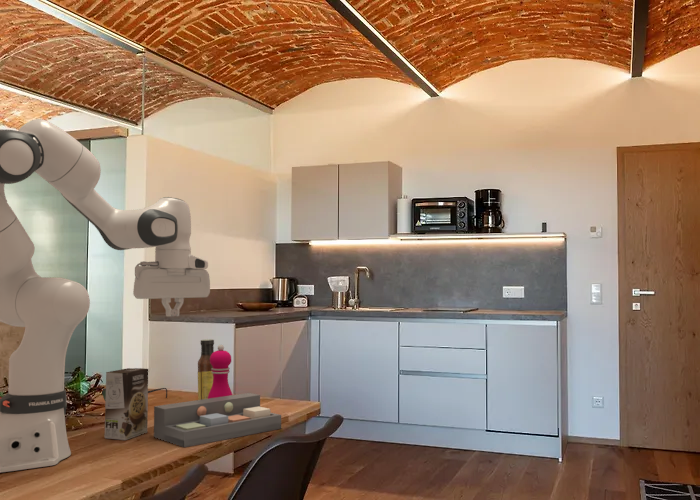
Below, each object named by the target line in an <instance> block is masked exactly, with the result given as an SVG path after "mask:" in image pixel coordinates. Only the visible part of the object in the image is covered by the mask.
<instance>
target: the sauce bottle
mask: <svg viewBox="0 0 700 500" xmlns="http://www.w3.org/2000/svg"><path fill="white" fill-rule="evenodd" d="M214 344H215V339H212V338H209V339H208V338H207V339H201V340H200V346H201V347H200V348H201V349H200V350H201V352H200V357H199V359H198V361H197V398H198V399H197V400H202V399H208V395H209V392H210V390H211V387H212V384H213V373H212V368H213V366H212V365H211V363H210V356H211V354H212V353H213V352H215V351H214V348H215V347H214Z"/></svg>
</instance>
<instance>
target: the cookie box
mask: <svg viewBox="0 0 700 500" xmlns="http://www.w3.org/2000/svg"><path fill="white" fill-rule="evenodd" d="M105 373H106V374H105V388H106V399H105V400H104V403H105V404H104V405H105V406H104V408H105V410H104V438H105V439H110V440H111V439H112V440H119V441H120V440H121V441H127V440H130V439H132V438H136V437H138V436H141V434H142V435H144V433H145V434H147V433H148V419H149V418H148V412H149V407H148V406H149V405H148V404H149V403H148V399H149V398H148V397H149V393H148V391H149V368H144V367H143V368H141V367H138V368H137V367H134V368H130V367H129V368H123V369H121V368H120V369H117V370H116V369H115V370H111V371H106V372H105Z"/></svg>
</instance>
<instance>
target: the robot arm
mask: <svg viewBox="0 0 700 500" xmlns="http://www.w3.org/2000/svg"><path fill="white" fill-rule="evenodd" d="M101 170H102V169H101V163H100V162H99V160H98V159H97V158H96V156H95V155H94V154H93V153H92V152H91V151H90V150H89V149H88V148H87V147H86V146H84V144H83V143H81V142H79V140H77V139H76V138H75V137H74V136H72V135H70V133H68V132H67V131H65V130H64V129H62V128H60V127H59V126H57V125H55V124H53V123H52V122H51V121H48V120H46V119H41V118H36V119H32V120H30V121H27V122H26V123H24V124H23V125H22V126H21V127H20V128H19V129H18V130H14V129H1V128H0V322H1V323H3V324H5V325H8V326H12V327H17V328H19V327H20V328H24V332H23V336H22V339H21V341H20V344H19V346H18V347H17V349H15V350H14V351H13V352H12V353H11V354H10V356H9V358H8V359H9V360H8V392H7V393H6V394H5V395H3V396H0V473H6V472H14V471H23V470H27V469H36V468H42V467H43V468H44V467H49V466H50V467H51V466H55V465H58V464H59V463H60V461H62V460H64V459H66V458H68V457H70V456H72V455H71V454H72V452H71V451H72V450H71V448H70V445H69V439H68V435H67V427H66V417H65V415H66V413H67V402H68V401H67V390H66V389H65V372H66V371H65V369H66V356H67V351H68V346H69V343H70V341H71V338H72V336H73V333H74V332H75V330H76V328H77V327H78V325H79V324H80V323H81V322H82V321H84V319H85V318H86V317H87V315H88V314H89V312H90V304H91V303H90V302H91V301H90V295H89V292H88V290H87V289H86V287H85V286H84V285H82V284H81V283H79V282H77V281H75V280H71V279H68V278H64V277H58V276H57V277H55V276H54V277H51V276H49V277H48V276H46V277H45V276H44V277H42V276H40V275H39V274H38V273H37V272H36V270H35V268H34V266H33V261H32V258H33V256H34V255H35V244H34V242H33V241H32V239H31V237H30V235H29V234H28V232H27V231H26V229H25V228H24V226H23V224H22V223H21V221H20V219H18V217H17V215H16V213H15V212H14V210H13V209H12V207H11V206H10V204H9V203H8V200H7V197H6V194H5V185H10V184H11V185H12V184H16V183H20V182H22V181H24V180H26V179H28V178H29V177H30V176H31V175H32V174H34V173H36V174H37V175H38V176H40V177H41V179H43V180H45V181H46V182H47V183H48V184H50V185H51V186H52V187H54V188H55V189H56V190H57V191H59V193H60V194H61V195H62V197H63V198H64V199H65V200H66V201H67V203H69V204H70V205H71V206H72V207H73V208H74V209H75V210H76V211H78V213H80V214H81V215H82V216H83V217H84V218H85V219H86V220H88V221H89V222H90V223H91V224H92V226H93V227H95V228H96V230H97V232H98V233H99V234H100V237H102V239H103V241H104V242H105V244H106V245H107V246H109V247H110V248H111V249H113V250H117V251H126V250H132V249H145V248H146V249H147V248H154V249H155V250H154V254H155V255H154V261H140V262H139V263H137V264H136V265H135V267H134V276H135V278H134V282H133V289H132V290H133V293H132V295H133V297H135V299H139V300H146V299H147V300H151V299H152V300H153V299H161V304H162V306H163V308H164V310H165V317H179V316H180V310H181V308H182V306H183V305H184V301H185V298H186V299H187V298H188V299H189V298H190V299H191V298H195V299H196V298H208V297H209V295H210V293H211V280H210V278H211V277H210V274H209V271H207V269H208V267H209V262H208V260H205V259H203V258H200V257H198V256H196V255H193V254H192V247H191V245H190V239H191V235H192V220H191V219H192V217H191V210H190V207H189V204H188V203H187V202H186V201H185V200H183V199H180V198H177V197H172V196H171V197H169V196H165V197H160V198H158V201H156V202H155V203H153V204H151V205H149V206H146V207H143V208H138V209H128V210H127V209H126V210H125V209H119V208H115V207H114V206H112V205H111V204H110V203H109V202H108V201H106V199H105V198H104V197H102V196H101V194H99V193H98V192H97V191H96V190H95V188H96V186H97V185H98V183H99V180H100V177H101ZM172 299H174V303H175V305H174V307H173V308H172V307H171V305H170V303H172Z"/></svg>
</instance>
